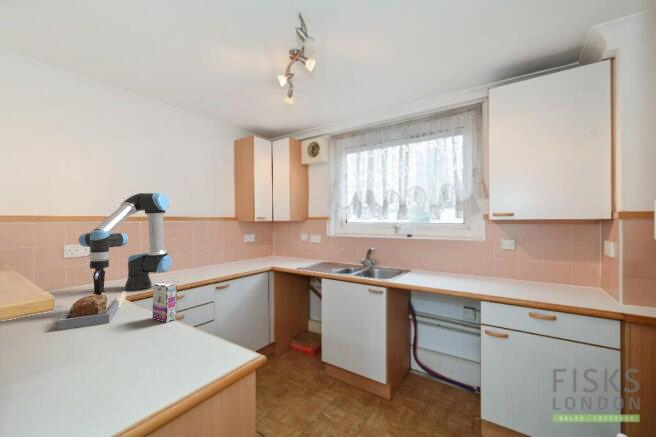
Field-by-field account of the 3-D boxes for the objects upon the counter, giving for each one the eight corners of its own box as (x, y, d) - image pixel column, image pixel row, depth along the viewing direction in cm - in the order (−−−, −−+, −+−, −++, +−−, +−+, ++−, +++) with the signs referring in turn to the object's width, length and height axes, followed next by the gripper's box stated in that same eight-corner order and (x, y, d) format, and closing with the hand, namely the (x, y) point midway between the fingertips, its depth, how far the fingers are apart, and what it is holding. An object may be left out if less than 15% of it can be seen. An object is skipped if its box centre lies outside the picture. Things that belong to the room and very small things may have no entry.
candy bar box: (177, 319, 126) (177, 284, 126) (166, 323, 121) (166, 286, 121) (162, 315, 131) (162, 281, 131) (151, 318, 126) (152, 283, 127)
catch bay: (125, 297, 161) (125, 291, 161) (109, 322, 121) (109, 314, 121) (88, 302, 153) (88, 294, 153) (57, 330, 113) (57, 320, 113)
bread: (99, 322, 123) (99, 300, 123) (67, 326, 117) (67, 303, 117) (107, 310, 139) (108, 291, 139) (80, 314, 134) (80, 293, 134)
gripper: (93, 259, 143) (93, 303, 143) (86, 262, 132) (85, 310, 132) (111, 258, 147) (110, 301, 147) (105, 261, 136) (105, 308, 135)
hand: (99, 305), depth 139 cm, fingers closed
